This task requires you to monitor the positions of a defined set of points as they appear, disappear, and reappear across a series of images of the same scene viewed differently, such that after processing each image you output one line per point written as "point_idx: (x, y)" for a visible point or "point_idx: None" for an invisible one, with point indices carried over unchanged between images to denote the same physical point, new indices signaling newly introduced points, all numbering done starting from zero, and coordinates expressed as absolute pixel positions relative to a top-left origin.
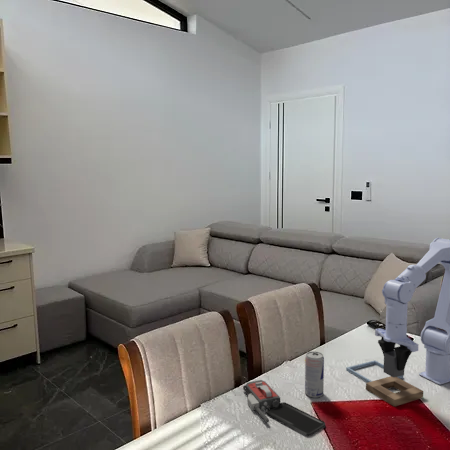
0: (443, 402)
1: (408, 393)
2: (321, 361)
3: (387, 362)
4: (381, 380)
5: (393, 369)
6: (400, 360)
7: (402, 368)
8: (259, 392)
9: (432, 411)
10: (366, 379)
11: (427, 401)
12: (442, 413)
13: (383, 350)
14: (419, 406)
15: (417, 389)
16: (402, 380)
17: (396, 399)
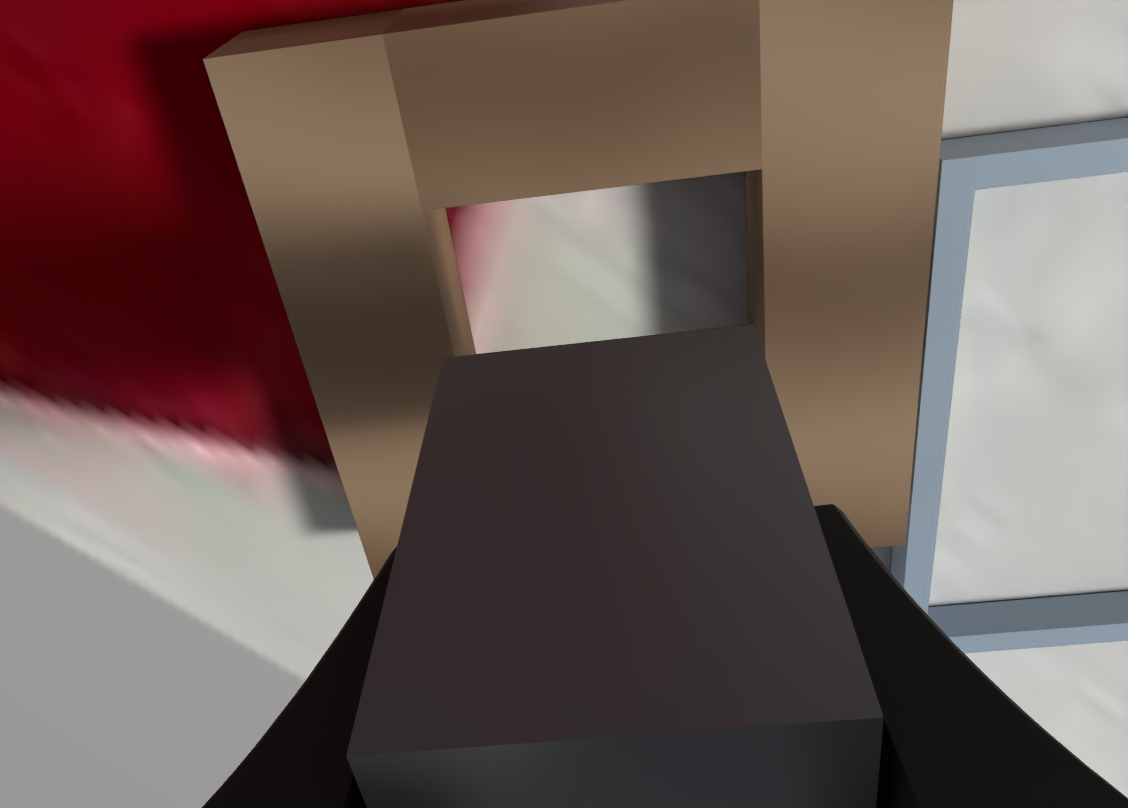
0: (249, 631)
1: (363, 397)
2: None
3: (662, 514)
4: (878, 297)
5: (435, 463)
6: (232, 780)
7: None
8: None
9: (66, 423)
10: (1123, 136)
11: (301, 516)
12: (15, 486)
13: (1002, 785)
14: (201, 366)
15: None
16: None
17: (218, 105)
